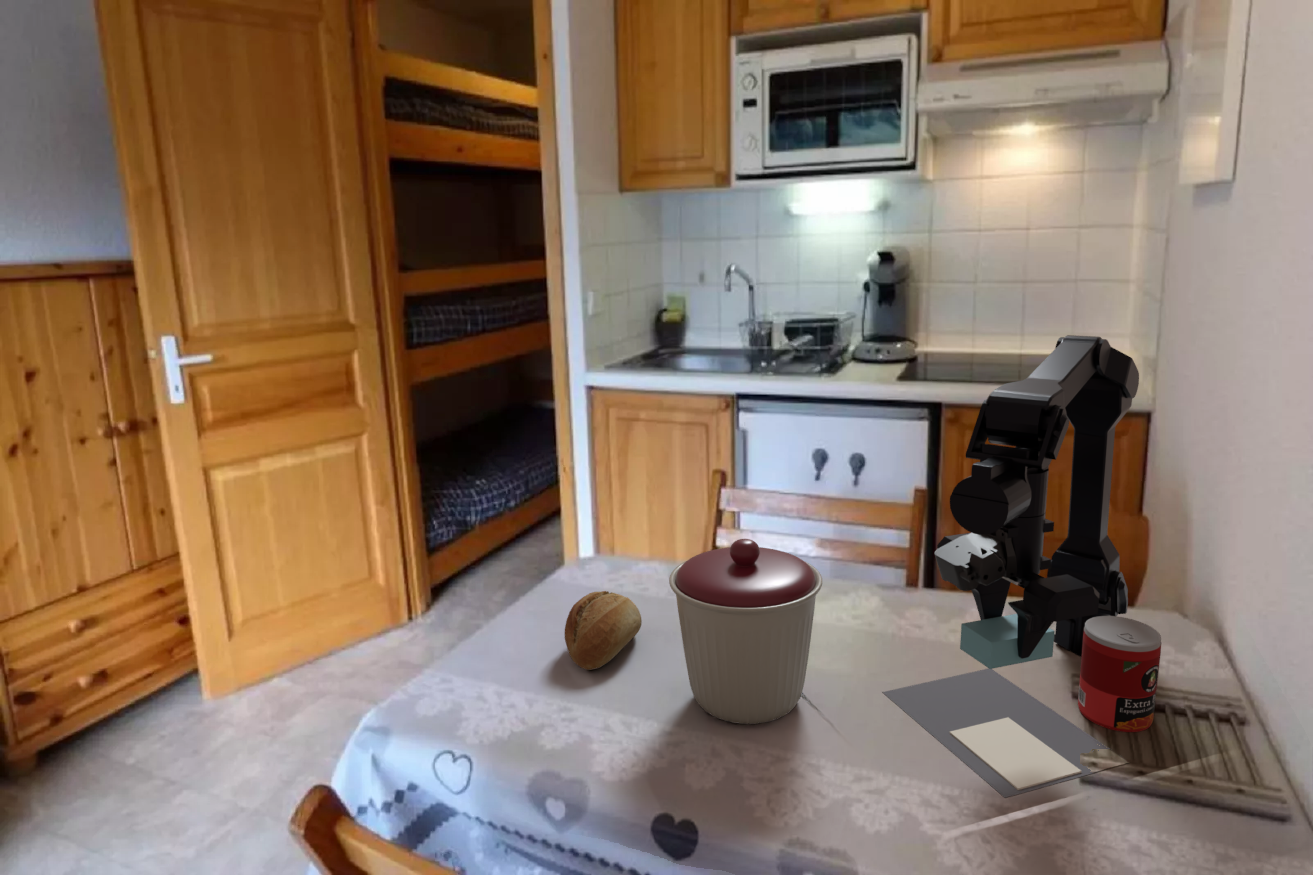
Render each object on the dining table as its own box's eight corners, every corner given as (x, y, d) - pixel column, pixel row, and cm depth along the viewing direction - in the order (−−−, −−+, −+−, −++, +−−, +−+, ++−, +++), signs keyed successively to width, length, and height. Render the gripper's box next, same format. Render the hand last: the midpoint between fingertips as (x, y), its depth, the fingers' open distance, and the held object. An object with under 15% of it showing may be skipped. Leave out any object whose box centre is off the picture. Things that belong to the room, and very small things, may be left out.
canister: (651, 727, 102) (644, 559, 97) (700, 657, 118) (696, 510, 113) (803, 756, 95) (804, 577, 90) (833, 678, 112) (835, 522, 107)
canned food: (1124, 744, 95) (1133, 652, 93) (1061, 710, 102) (1068, 624, 100) (1168, 724, 99) (1178, 635, 96) (1104, 693, 106) (1112, 609, 103)
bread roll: (549, 672, 116) (545, 617, 114) (592, 624, 130) (589, 574, 128) (616, 681, 113) (613, 625, 111) (652, 631, 127) (650, 580, 125)
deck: (1020, 637, 98) (1022, 612, 97) (1052, 656, 93) (1054, 631, 93) (960, 648, 96) (961, 623, 95) (989, 669, 91) (991, 642, 90)
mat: (989, 671, 112) (990, 666, 112) (1130, 766, 91) (1130, 760, 91) (882, 695, 107) (882, 690, 107) (1004, 802, 87) (1005, 795, 86)
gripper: (898, 494, 97) (894, 623, 101) (1013, 547, 80) (1002, 701, 83) (982, 484, 100) (975, 609, 104) (1109, 532, 83) (1095, 681, 86)
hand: (1006, 646), depth 94 cm, fingers closed on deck, 5 cm apart
